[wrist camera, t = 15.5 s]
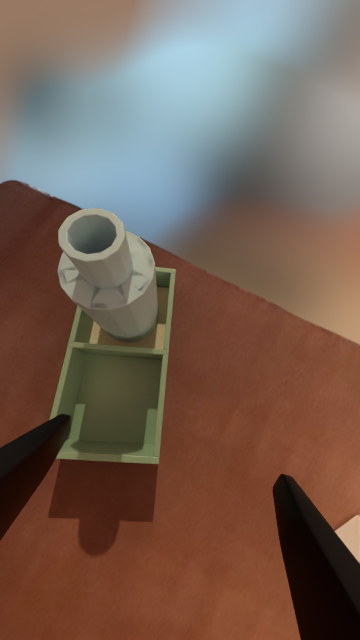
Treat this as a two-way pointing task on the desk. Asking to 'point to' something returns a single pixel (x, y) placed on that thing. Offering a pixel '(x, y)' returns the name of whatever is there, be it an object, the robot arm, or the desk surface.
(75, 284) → the bottle
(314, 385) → the desk surface
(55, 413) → the divided tray
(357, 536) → the jar
